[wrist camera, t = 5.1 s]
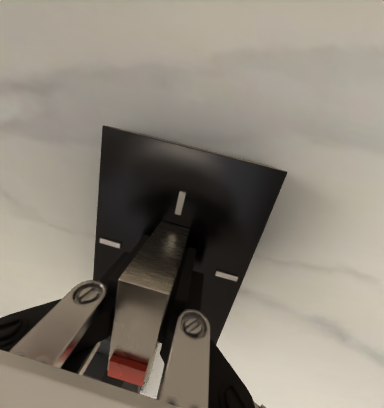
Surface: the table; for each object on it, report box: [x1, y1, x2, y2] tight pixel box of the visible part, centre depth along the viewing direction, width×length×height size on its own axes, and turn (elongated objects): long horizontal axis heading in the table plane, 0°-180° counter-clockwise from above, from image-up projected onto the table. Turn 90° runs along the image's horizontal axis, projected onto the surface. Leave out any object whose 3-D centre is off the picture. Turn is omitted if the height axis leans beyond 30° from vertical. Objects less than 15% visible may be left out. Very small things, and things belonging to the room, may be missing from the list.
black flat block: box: [93, 126, 287, 345], centre depth 13 cm, size 14×10×3 cm
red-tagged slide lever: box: [107, 221, 190, 387], centre depth 9 cm, size 5×2×5 cm, turn 167°
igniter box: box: [82, 336, 141, 394], centre depth 18 cm, size 11×8×4 cm
